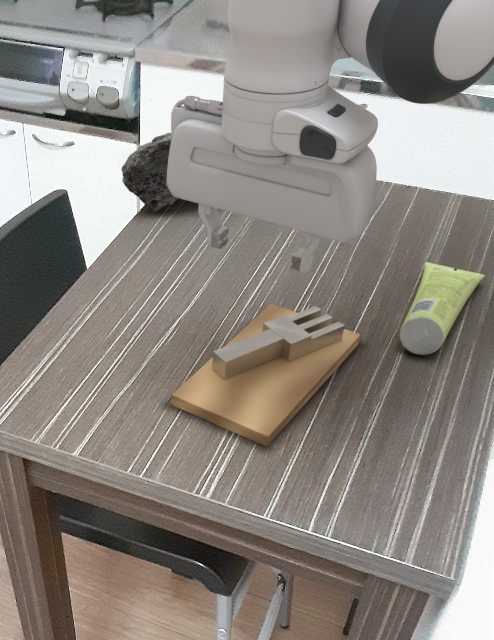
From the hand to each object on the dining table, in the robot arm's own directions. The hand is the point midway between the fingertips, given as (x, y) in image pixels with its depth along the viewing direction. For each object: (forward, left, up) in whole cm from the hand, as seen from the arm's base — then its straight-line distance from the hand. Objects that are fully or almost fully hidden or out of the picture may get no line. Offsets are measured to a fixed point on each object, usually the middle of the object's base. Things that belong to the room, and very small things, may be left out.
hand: (257, 257), depth 76 cm
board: (-2, -2, -15) cm, 15 cm away
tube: (-15, -14, -12) cm, 24 cm away
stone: (+39, -32, -9) cm, 51 cm away
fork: (-1, -4, -13) cm, 14 cm away
